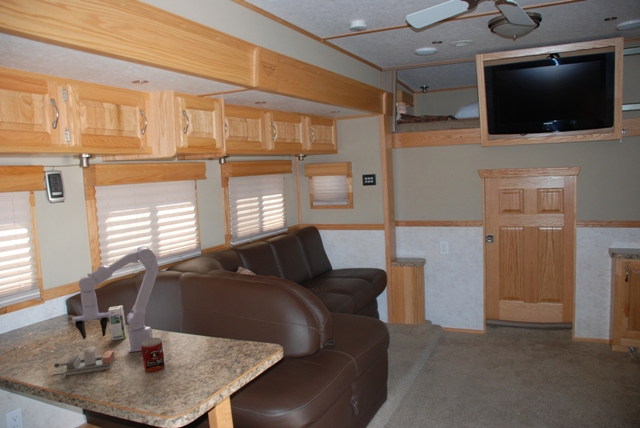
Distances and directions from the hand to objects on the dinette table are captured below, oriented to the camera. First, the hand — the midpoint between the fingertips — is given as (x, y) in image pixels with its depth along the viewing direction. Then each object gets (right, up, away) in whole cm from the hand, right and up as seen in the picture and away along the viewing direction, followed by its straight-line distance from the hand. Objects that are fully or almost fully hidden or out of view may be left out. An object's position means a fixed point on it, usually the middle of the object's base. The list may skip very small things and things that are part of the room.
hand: (94, 336), depth 209 cm
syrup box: (0, -7, +25) cm, 26 cm away
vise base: (0, -11, -8) cm, 13 cm away
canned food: (+30, -9, -15) cm, 35 cm away
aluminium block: (+2, -9, -8) cm, 12 cm away
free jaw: (+9, -8, -7) cm, 14 cm away
